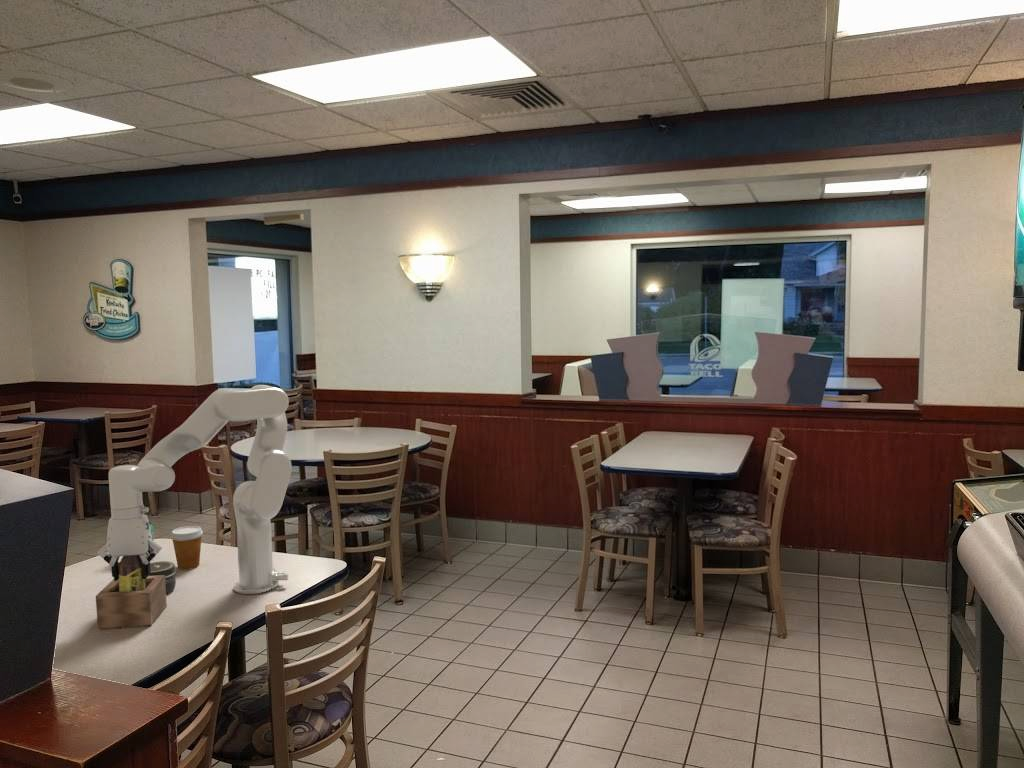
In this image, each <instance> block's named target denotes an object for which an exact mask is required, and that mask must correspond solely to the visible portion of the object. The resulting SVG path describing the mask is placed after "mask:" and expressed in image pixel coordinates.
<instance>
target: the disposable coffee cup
mask: <svg viewBox="0 0 1024 768" xmlns="http://www.w3.org/2000/svg"><path fill="white" fill-rule="evenodd" d="M203 533H204V531H203V529H202V527H201V526H198V525H188V526H186V525H185V526H180V527H177V528H174V529H173V530H172V531H171V534H170V538H171V541H172V543H173V549H174V554H175V558H176V564H177V569H179V570H182V569H187V570H191V569H190V568H193V569H195V568H194V567H196V568H197V566H198V565H199V566H200V561H201V560H200V559H201V548H202V536H203ZM199 566H198V567H199Z"/></svg>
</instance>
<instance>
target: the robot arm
mask: <svg viewBox="0 0 1024 768" xmlns="http://www.w3.org/2000/svg"><path fill="white" fill-rule="evenodd" d="M289 402H290V400H289V396H288V394H287V393H286V392H285V391H284V390H283V389H281V388H279V387H275V386H271V385H268V384H267V385H266V384H256V385H253V386H252V387H251V388H249V389H248V390H234V389H229V388H219V389H216V390H215V391H214V392H212V393H211V394H210V395H209V396H207V398H206V399H205V400H204V401H203V402H202V403H201V404H200V405H199V407H198V408H197V409H196V410H195V411H194V412H193V413H192V414H191V415H190V416H189V417H188V418H187V419H186V420H185V421H184V422H183V423H182V424H180V426H178V427H177V428H175V429H174V430H173V431H171V432H170V433H169V434H168V435H166V436H165V437H163V438H162V439H160V441H158V442H157V443H156V444H155V445H154V446H153V447H152V448H151V449H150V450H149V451H148V452H147V453H146V454H145V455H144V456H143V458H142V459H141V460H140V461H139V462H138V464H137V465H133V464H125V465H118V466H115V467H112V468H110V470H109V471H108V484H109V485H108V487H109V501H110V503H109V505H110V513H111V517H110V518H109V520H108V524H107V525H108V526H107V536H106V543H105V544H104V545H103V546H102V547H101V548H100V549H99V550H98V551H97V552H96V553H97V555H98V556H99V557H100V558H102V559H103V561H105V562H106V563H107V564H108V565H109V567H111V577H112V578H113V579H114V581H117V580H118V579H119V563H120V562H119V560H120V558H121V557H123V556H133V555H139V556H140V558H141V559H142V561H143V564H142V578H143V579H146V578H147V577H148V576H149V575H150V573H151V569H150V563H151V561H152V560H153V559H154V558H155V557H156V556H157V555H158V554H159V552H160V551H162V549H163V547H162V546H161V545H159V544H158V543H157V542H155V540H154V541H153V540H152V535H151V529H150V524H149V522H150V521H149V518H148V515H147V514H146V513H149V511H150V508H149V507H147V506H145V505H144V502H143V493H147V492H148V493H149V492H151V493H152V492H155V493H156V492H161V491H162V492H163V491H165V490H168V489H169V488H171V487H172V485H173V484H174V482H175V479H176V474H175V470H174V469H173V468H172V467H173V465H175V464H176V462H177V461H178V460H180V459H181V458H182V457H184V456H185V455H187V454H189V453H190V452H191V453H192V452H193V451H196V450H199V449H202V448H203V447H205V446H207V445H208V444H209V443H210V442H211V441H212V440H213V439H214V437H215V436H216V435H217V434H218V433H219V432H220V431H221V430H222V429H223V428H224V426H226V425H227V424H228V422H247V421H248V422H249V421H254V420H255V421H256V431H255V435H254V439H253V442H252V445H251V448H250V451H249V455H248V458H247V464H246V467H247V470H248V471H249V473H250V474H251V475H252V476H254V477H256V478H255V480H248V481H244V482H242V483H241V484H239V485H238V486H237V487H236V489H235V491H234V493H233V497H232V498H233V499H232V504H233V511H234V517H235V522H236V539H237V541H236V542H237V561H238V563H237V565H238V581H236V582H235V583H234V585H233V591H234V592H236V593H239V594H242V595H256V594H257V595H258V594H262V592H263V593H267V592H269V590H270V591H272V590H274V589H276V588H277V587H278V586H279V585H280V584H279V583H280V581H288V580H289V573H286V571H280V572H278V571H276V567H274V566H273V543H272V522H271V520H272V519H273V518H275V517H276V516H277V515H278V514H279V512H280V510H281V509H282V506H283V504H284V503H283V502H284V499H285V496H286V492H287V490H288V487H289V482H290V479H291V476H292V469H293V468H292V460H291V458H290V456H289V455H288V454H287V453H286V452H284V451H283V450H284V445H285V442H286V441H285V440H286V436H287V431H288V419H287V416H286V411H287V410H288V407H289ZM151 548H153V549H154V551H153V552H152V553H151V554H149V553H148V550H150V549H151ZM271 589H272V590H271ZM266 591H267V592H266Z"/></svg>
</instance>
